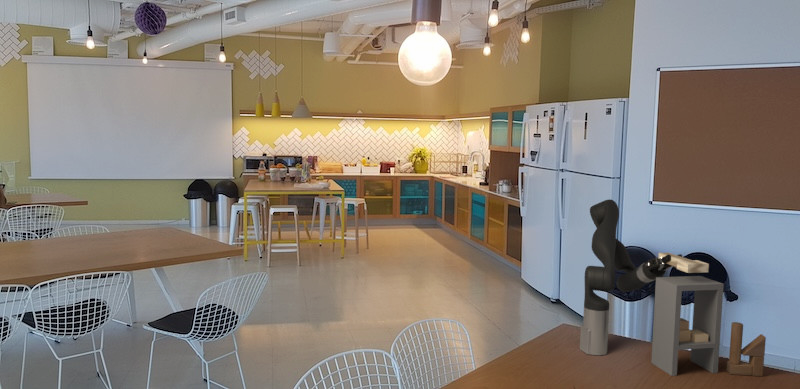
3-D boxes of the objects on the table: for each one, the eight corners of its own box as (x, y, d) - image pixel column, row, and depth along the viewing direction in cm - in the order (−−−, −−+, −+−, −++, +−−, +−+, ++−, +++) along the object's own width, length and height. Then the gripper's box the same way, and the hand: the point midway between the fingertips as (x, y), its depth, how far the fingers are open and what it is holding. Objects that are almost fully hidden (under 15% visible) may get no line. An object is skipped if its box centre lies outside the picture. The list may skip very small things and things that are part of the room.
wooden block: (763, 376, 208) (766, 326, 206) (730, 374, 209) (733, 324, 208) (758, 372, 212) (762, 323, 210) (726, 370, 213) (729, 321, 211)
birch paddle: (687, 272, 207) (688, 264, 206) (653, 260, 226) (653, 252, 226) (708, 272, 208) (708, 263, 208) (672, 260, 228) (673, 252, 227)
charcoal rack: (671, 375, 208) (676, 285, 205) (651, 362, 219) (656, 277, 216) (717, 372, 211) (723, 283, 208) (695, 360, 223) (700, 275, 219)
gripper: (632, 262, 235) (655, 247, 220) (664, 261, 237) (690, 246, 222) (636, 280, 232) (660, 267, 217) (669, 279, 234) (696, 266, 219)
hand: (675, 257), depth 219 cm, fingers closed on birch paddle, 4 cm apart
